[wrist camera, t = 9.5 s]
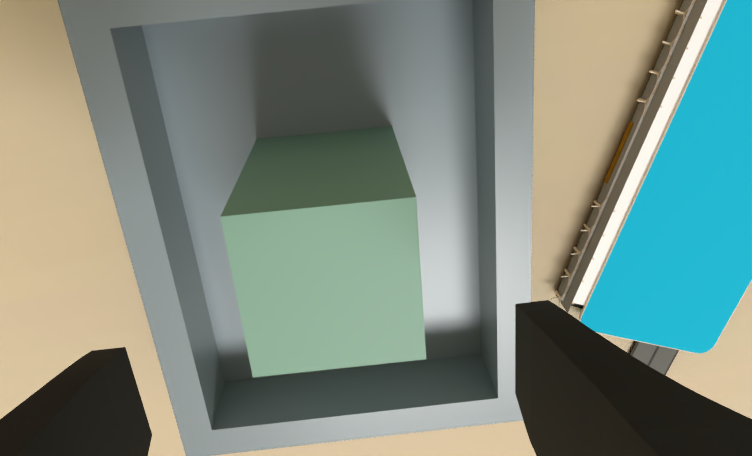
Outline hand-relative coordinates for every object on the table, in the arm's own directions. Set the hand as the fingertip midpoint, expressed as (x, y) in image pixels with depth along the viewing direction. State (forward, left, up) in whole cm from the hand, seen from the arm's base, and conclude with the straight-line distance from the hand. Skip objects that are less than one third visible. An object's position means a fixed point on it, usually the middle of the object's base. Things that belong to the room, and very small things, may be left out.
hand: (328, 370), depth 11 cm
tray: (0, 0, -9) cm, 9 cm away
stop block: (0, 0, -8) cm, 8 cm away
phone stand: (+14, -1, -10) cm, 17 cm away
